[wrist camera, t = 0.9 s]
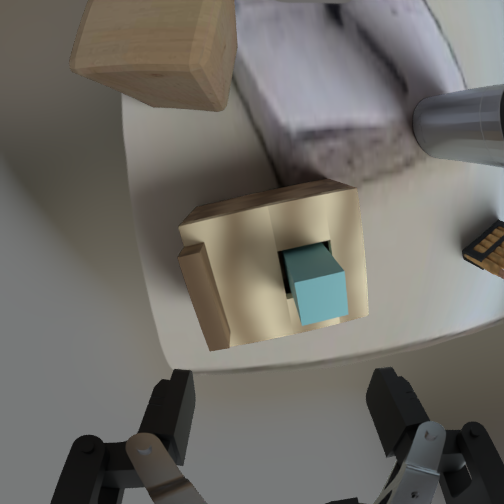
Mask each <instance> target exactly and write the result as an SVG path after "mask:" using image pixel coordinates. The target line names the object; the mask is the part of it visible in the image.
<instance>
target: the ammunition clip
mask: <svg viewBox="0 0 504 504" xmlns="http://www.w3.org/2000/svg"><path fill="white" fill-rule="evenodd" d="M463 256H464V260H466V261H468V262H470V263H471V264H473V265H475V266H477V267H479V268H480V269H482V270H484V269H485V270H487V271H489V272H490V273H492V274H494V275H497V276H499V277H501V278H502V279H504V270H503V269H504V222H503V221H500V220H498V221H497V222H496V223H494V224H493V225H492V226H491V227H490V228H489V229H488V230H487V231H485V232H484V233H483V234H482V235H481V236H480V237H478V238H477V239H476V240H475V241H474V242H472V243H471V244H470V245H469V246H468V247H466V248H465V249H464V250H463ZM502 268H503V269H502Z"/></svg>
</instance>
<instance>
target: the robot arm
mask: <svg viewBox="0 0 504 504" xmlns="http://www.w3.org/2000/svg"><path fill="white" fill-rule="evenodd" d="M413 129H414V133H415V137H416V139H417V141H418V143H419V145H420V146H421V148H422V149H423V150H424V151H425V152H426V153H427V154H429V155H430V156H432V157H434V158H439V159H447V160H455V161H463V162H470V163H477V164H484V165H490V166H496V167H502V168H504V84H500V85H493V86H487V87H480V88H474V89H468V90H463V91H458V92H452V93H447V94H442V95H437V96H433V97H429V98H425V99H423V100H422V101H420V102H419V104H418V105H417V107H416V108H415V111H414V115H413ZM366 403H367V406H368V409H369V411H370V414H371V416H372V419H373V422H374V425H375V427H376V430H377V433H378V435H379V438H380V441H381V444H382V446H383V449H384V452H385V455H386V457H392V456H396V459H397V460H396V462H395V463H394V466H393V468H392V470H391V473H390V474H389V477H388V479H387V481H386V483H385V485H384V487H383V489H382V491H381V493H380V495H379V496H378V498H377V499H376V500H375V502H374V503H373V504H431V502H432V499H433V497H434V494H435V491H436V488H437V485H438V482H439V483H440V486H441V489H442V492H443V495H444V498H445V501H446V504H504V464H503V462H502V460H501V458H500V456H499V454H498V452H497V450H496V448H495V446H494V444H493V442H492V440H491V438H490V437H489V435H488V433H487V431H486V429H485V428H484V427H483V426H482V425H481V424H480V423H478V422H468V423H466V424H465V425H464V426H463V428H462V429H461V430H445V429H444V428H443V427H442V425H440V424H439V423H436V422H432V421H430V419H429V417H428V416H427V414H426V412H425V410H424V408H423V407H422V405H421V403H420V401H419V399H417V395H416V394H415V392H414V390H413V388H412V387H411V385H410V383H409V382H407V380H405V379H404V378H403V377H402V376H399V377H398V376H397V374H396V373H395V371H394V369H393V368H392V367H385V368H377V369H375V370H374V372H373V375H372V378H371V381H370V384H369V387H368V390H367V393H366ZM194 409H195V390H194V381H193V374H192V371H191V370H181V369H174V370H173V373H172V376H171V379H170V380H165V379H162V380H161V381H160V382H159V383H158V384H157V385H156V386H155V387H154V389H153V392H152V395H151V398H150V400H149V405H148V406H147V409H146V411H145V414H144V417H143V420H142V423H141V425H140V428H139V431H138V433H137V434H135V435H133V436H131V437H130V438H129V439H128V440H127V441H125V442H117V443H103V441H102V440H101V439H100V438H98V437H97V436H94V435H83V436H81V437H79V438H77V439H76V440H75V441H74V443H73V445H72V447H71V450H70V453H69V455H68V457H67V460H66V462H65V465H64V467H63V470H62V473H61V475H60V478H59V481H58V483H57V486H56V489H55V492H54V495H53V498H52V500H51V504H121V503H122V498H123V494H124V489H125V488H138V487H145V488H146V490H147V491H148V493H149V495H150V497H151V499H152V501H153V502H154V504H207V503H206V501H205V500H204V499H203V498H202V496H201V495H200V494H199V492H198V491H197V490H196V488H195V487H194V486H193V484H192V483H191V482H190V481H189V480H188V479H186V478H185V477H184V476H183V474H182V473H181V471H180V470H179V468H178V467H177V465H180V466H183V465H184V460H185V455H186V449H187V444H188V438H189V434H190V429H191V423H192V419H193V414H194ZM465 464H467V467H468V469H469V472H470V474H471V477H472V480H471V478H470V475H469V473H468V471H467V468H466V466H465ZM326 504H364V503H358V498H357V497H356V498H350V499H344V500H339V501H331V502H329V503H326Z"/></svg>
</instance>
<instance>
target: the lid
mask: <svg viewBox="0 0 504 504" xmlns="http://www.w3.org/2000/svg"><path fill="white" fill-rule="evenodd" d="M178 228H179V231H180V235H181V238H182V241H183V245H184V248H183V249H182V251H181V253H180V254H179V256H178V257H177V258H178V261H179V264H180V268H181V271H182V274H183V277H184V280H185V283H186V286H187V289H188V292H189V295H190V298H191V301H192V304H193V307H194V309H195V312H196V315H197V318H198V321H199V323H200V326H201V329H202V332H203V334H204V337H205V340H206V343H207V345H208V348H209V351H215V350H221V349H227V348H229V347H232V346H238V345H243V344H249V343H254V342H259V341H264V340H269V339H274V338H279V337H284V336H288V335H293V334H297V333H302V332H306V331H310V330H315V329H319V328H323V327H327V326H331V325H335V324H339V323H343V322H347V321H350V320H354V319H358V318H361V317H365V316H368V315H369V314H368V291H367V275H366V261H365V250H364V239H363V230H362V221H361V213H360V205H359V198H358V191H357V188H355V187H348V188H343V189H337V190H332V191H327V192H322V193H317V194H312V195H307V196H302V197H297V198H292V199H287V200H282V201H278V202H273V203H268V204H264V205H259V206H254V207H250V208H245V209H241V210H237V211H232V212H228V213H224V214H219V215H215V216H211V217H207V218H203V219H198V220H194V221H190V222H186V223H182V224H180V225H179V227H178ZM327 240H328V246H329V252H330V254H331V255H332V256H333V257H334V259H335V260H336V261H337V262H338V263H339V265H340V266H341V267H342V269H343V270H344V271H345V280H346V291H347V302H348V315H345V316H341V317H337V318H333V319H329V320H325V321H321V322H317V323H312V324H308V325H304V326H302V324H301V321H300V318H299V315H298V312H297V308H296V305H295V302H294V299H293V296H292V293H288V294H286V293H285V288H284V283H283V278H282V273H281V268H280V263H279V258H278V253H277V251H282V250H286V249H291V248H295V247H300V246H304V245H309V244H314V243H318V242H323V241H327Z"/></svg>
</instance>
